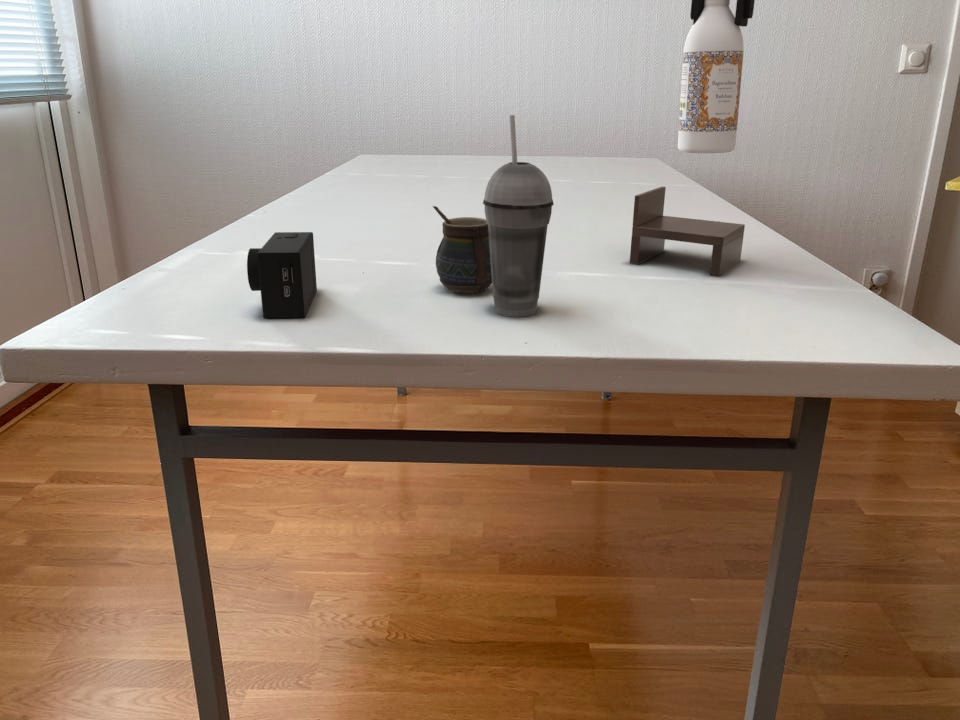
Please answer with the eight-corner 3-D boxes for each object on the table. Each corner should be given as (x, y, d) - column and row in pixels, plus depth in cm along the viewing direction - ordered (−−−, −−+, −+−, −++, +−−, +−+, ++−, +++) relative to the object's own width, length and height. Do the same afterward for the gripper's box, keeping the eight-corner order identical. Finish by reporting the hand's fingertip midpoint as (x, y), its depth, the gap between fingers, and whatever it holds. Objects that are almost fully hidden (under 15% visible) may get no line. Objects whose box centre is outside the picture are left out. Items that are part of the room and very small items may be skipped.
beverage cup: (514, 325, 79) (519, 119, 71) (467, 309, 84) (468, 115, 77) (563, 311, 83) (573, 116, 76) (516, 297, 88) (521, 112, 81)
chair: (740, 261, 106) (749, 194, 103) (718, 276, 98) (727, 204, 95) (656, 249, 112) (661, 186, 108) (629, 263, 104) (634, 195, 101)
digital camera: (269, 291, 90) (263, 231, 87) (317, 291, 90) (313, 230, 87) (251, 319, 80) (244, 252, 77) (304, 318, 80) (299, 251, 78)
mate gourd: (509, 292, 90) (512, 205, 87) (453, 301, 86) (453, 211, 83) (477, 278, 96) (477, 196, 92) (422, 286, 92) (421, 201, 88)
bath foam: (693, 154, 93) (705, -31, 86) (667, 150, 100) (677, -23, 93) (745, 152, 94) (762, -31, 88) (717, 148, 101) (730, -23, 94)
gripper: (654, -153, 87) (640, 26, 93) (814, -174, 78) (787, 23, 85) (676, -138, 93) (662, 28, 99) (827, -157, 84) (801, 26, 91)
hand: (720, 24), depth 92 cm, fingers closed on bath foam, 4 cm apart
